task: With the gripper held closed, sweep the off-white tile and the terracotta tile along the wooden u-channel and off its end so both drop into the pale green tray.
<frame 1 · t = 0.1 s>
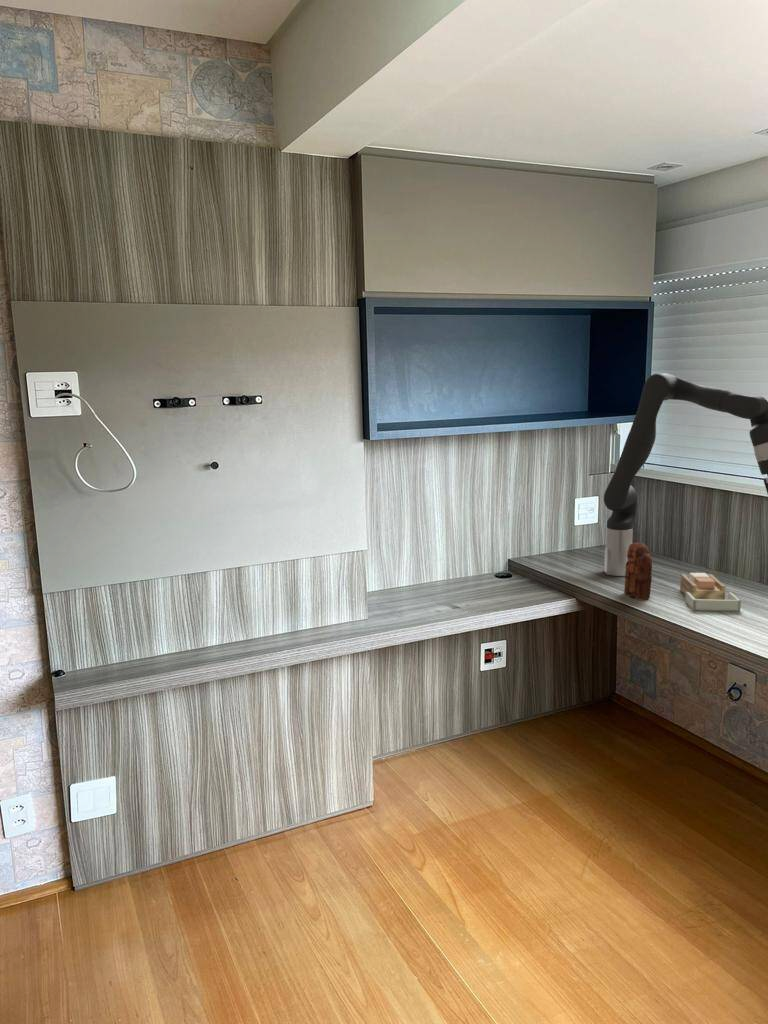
wooden figurine: (636, 596, 257), on the worktop
tile a: (699, 581, 258), point 4 cm above the worktop, touching wooden u-channel
tray: (712, 606, 244), on the worktop
wooden u-channel: (701, 596, 255), on the worktop
tile b: (704, 586, 252), point 4 cm above the worktop, touching wooden u-channel
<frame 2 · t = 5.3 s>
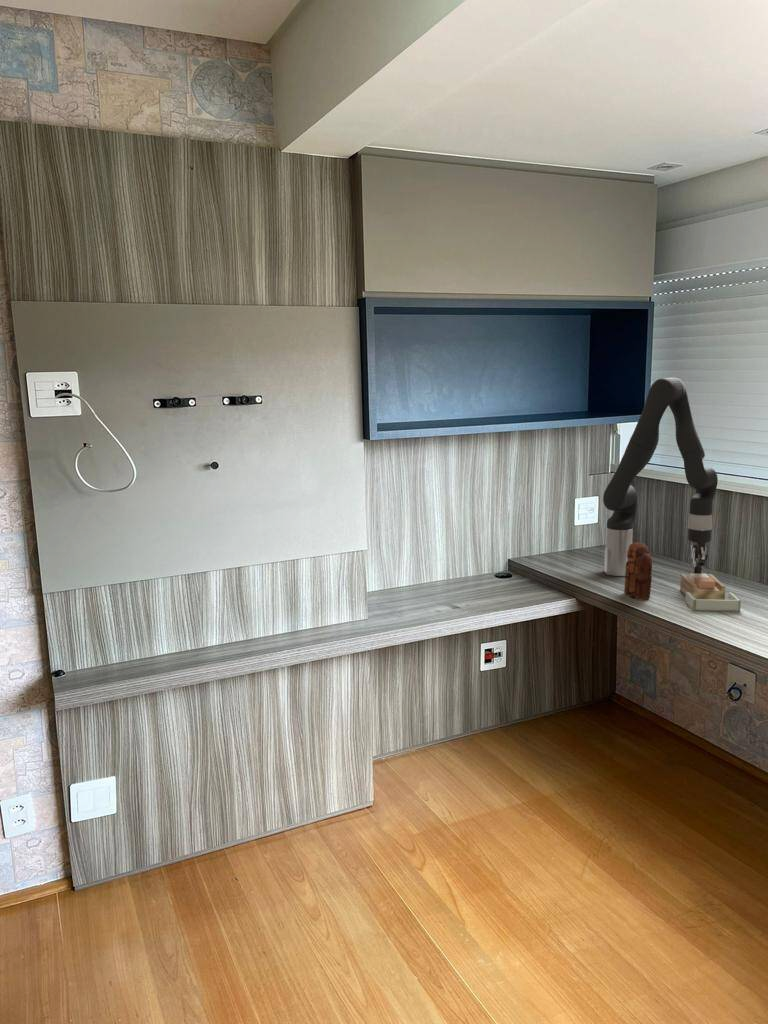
hand: (697, 577, 261), 5 cm above the worktop, tool pointing down, fingers closed
tile a: (699, 582, 257), point 4 cm above the worktop, touching gripper
everything else where it was.
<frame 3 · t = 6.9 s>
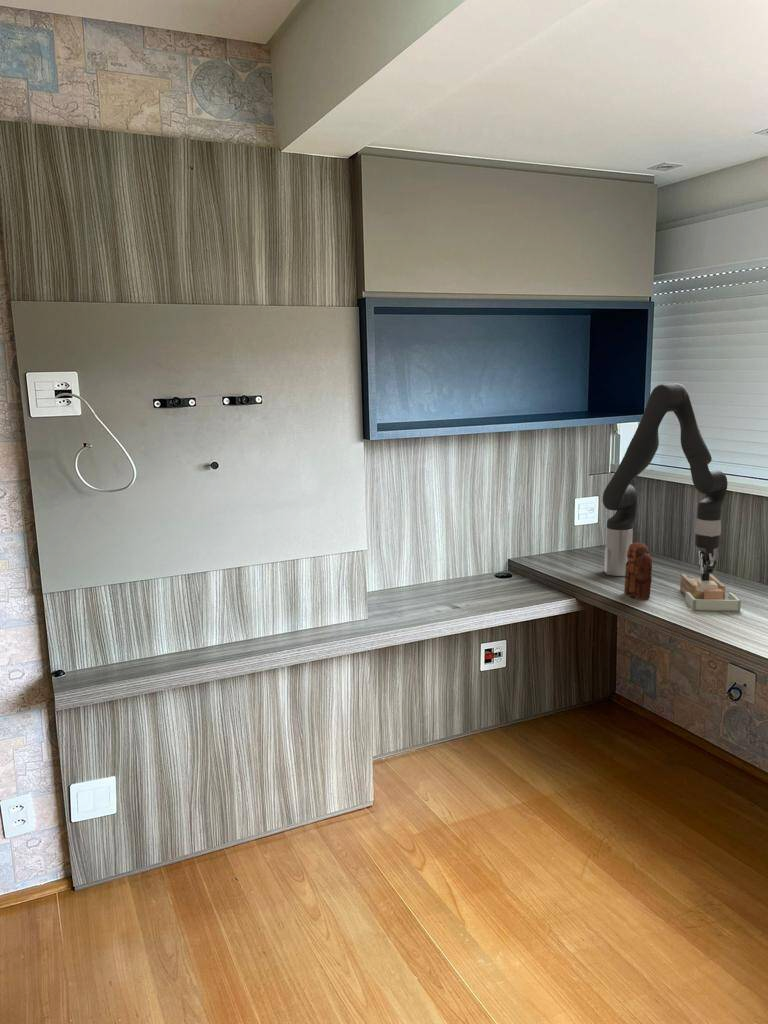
hand: (704, 584, 252), 5 cm above the worktop, tool pointing down, fingers closed
tile a: (707, 589, 248), point 4 cm above the worktop, touching wooden u-channel, gripper
tile b: (712, 596, 244), point 3 cm above the worktop, tilted 91°, touching tray
everything else where it was.
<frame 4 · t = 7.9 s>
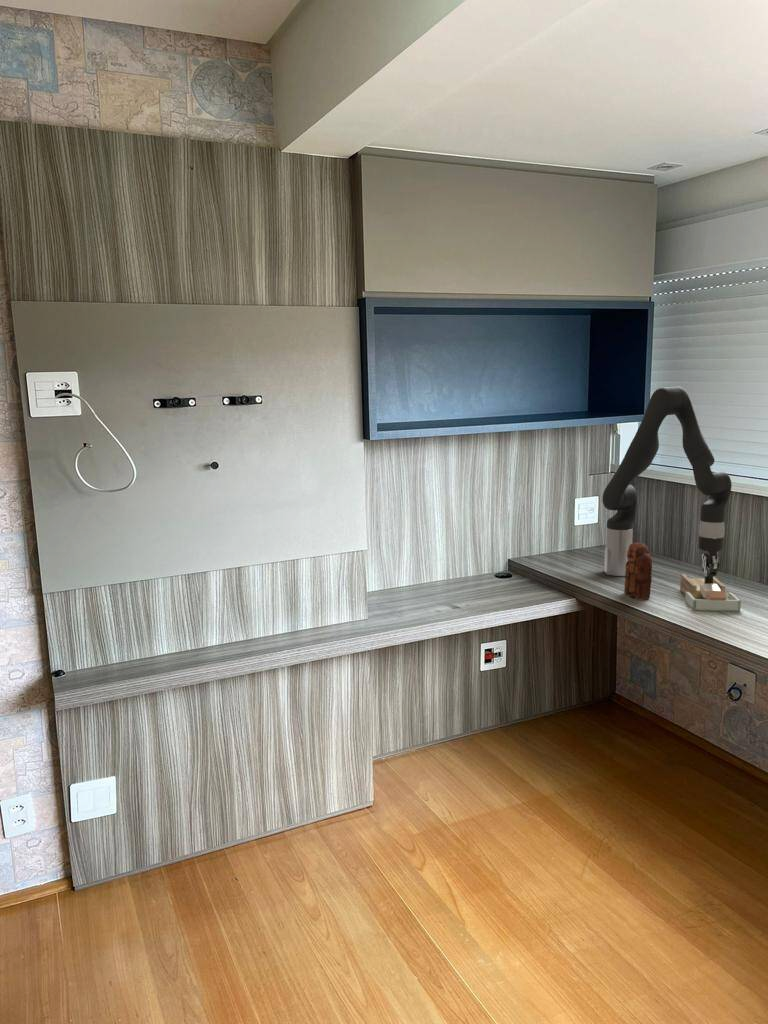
hand: (708, 587, 248), 5 cm above the worktop, tool pointing down, fingers closed
tile a: (709, 593, 245), point 4 cm above the worktop, tilted 12°, touching wooden u-channel, gripper, tile b
tile b: (714, 595, 242), point 4 cm above the worktop, tilted 130°, touching tile a, tray
everything else where it was.
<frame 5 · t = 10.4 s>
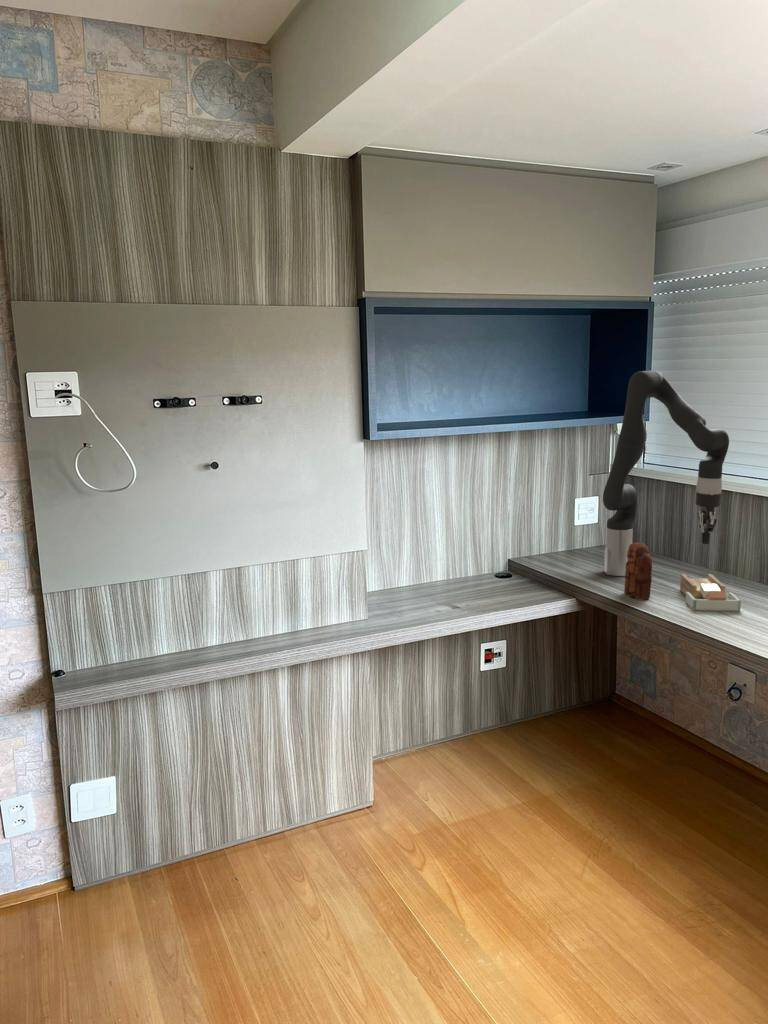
hand: (705, 543, 252), 18 cm above the worktop, tool pointing down, fingers closed
tile a: (709, 593, 245), point 4 cm above the worktop, tilted 12°, touching wooden u-channel, tile b
everything else where it was.
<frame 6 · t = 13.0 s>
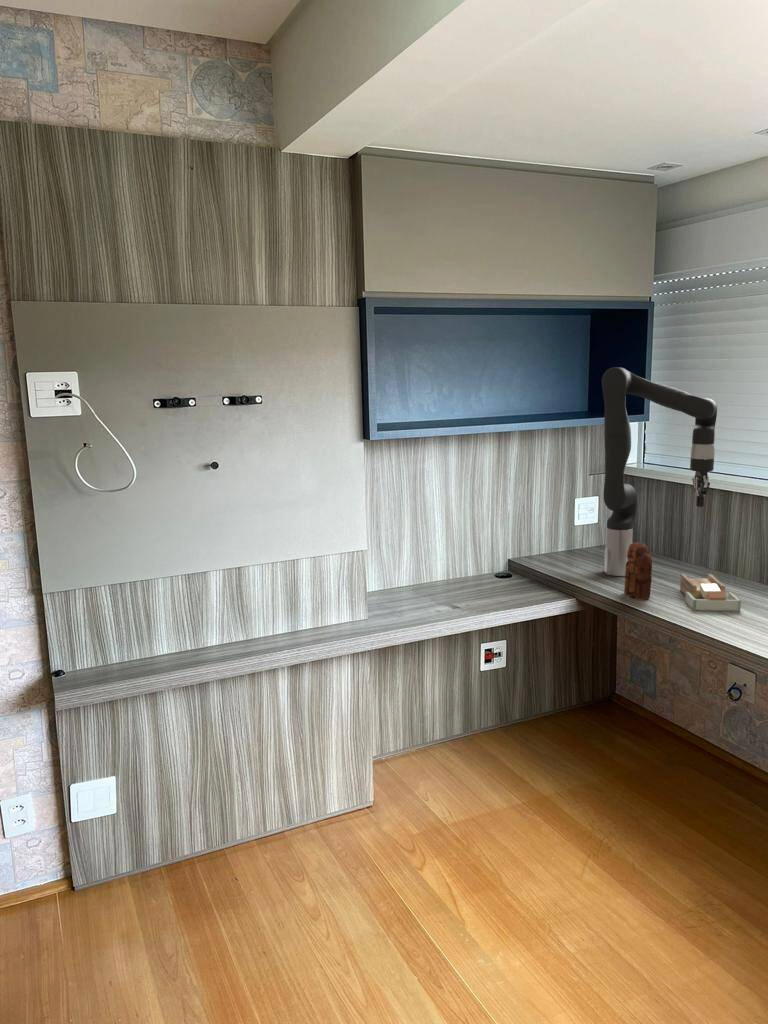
hand: (699, 506, 268), 27 cm above the worktop, tool pointing down, fingers closed
nothing on the worktop moved.
at the end: tile a inside the target area on the tray (2.7 cm from its centre), point 3.6 cm above the tray's base; tile b inside the target area on the tray (0.6 cm from its centre), point 4.0 cm above the tray's base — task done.
